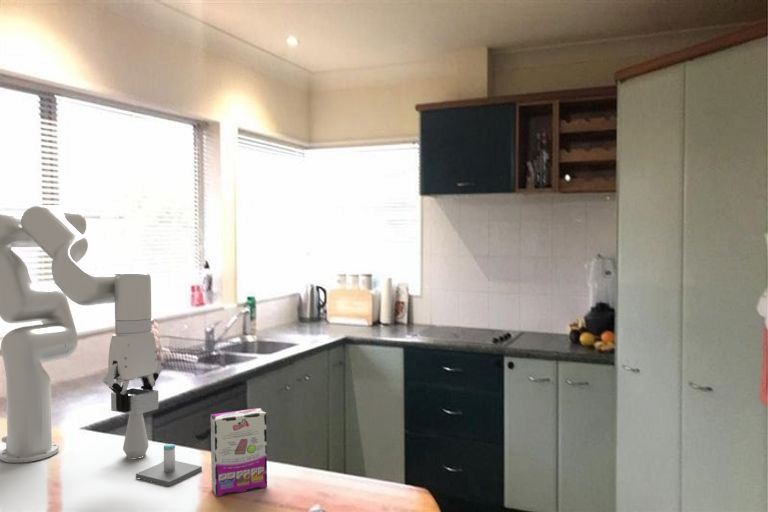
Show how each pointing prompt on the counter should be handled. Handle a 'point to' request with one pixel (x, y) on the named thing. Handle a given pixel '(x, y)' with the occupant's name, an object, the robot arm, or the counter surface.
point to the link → (138, 400)
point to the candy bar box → (238, 451)
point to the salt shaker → (135, 437)
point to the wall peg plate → (169, 469)
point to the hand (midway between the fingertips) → (135, 406)
